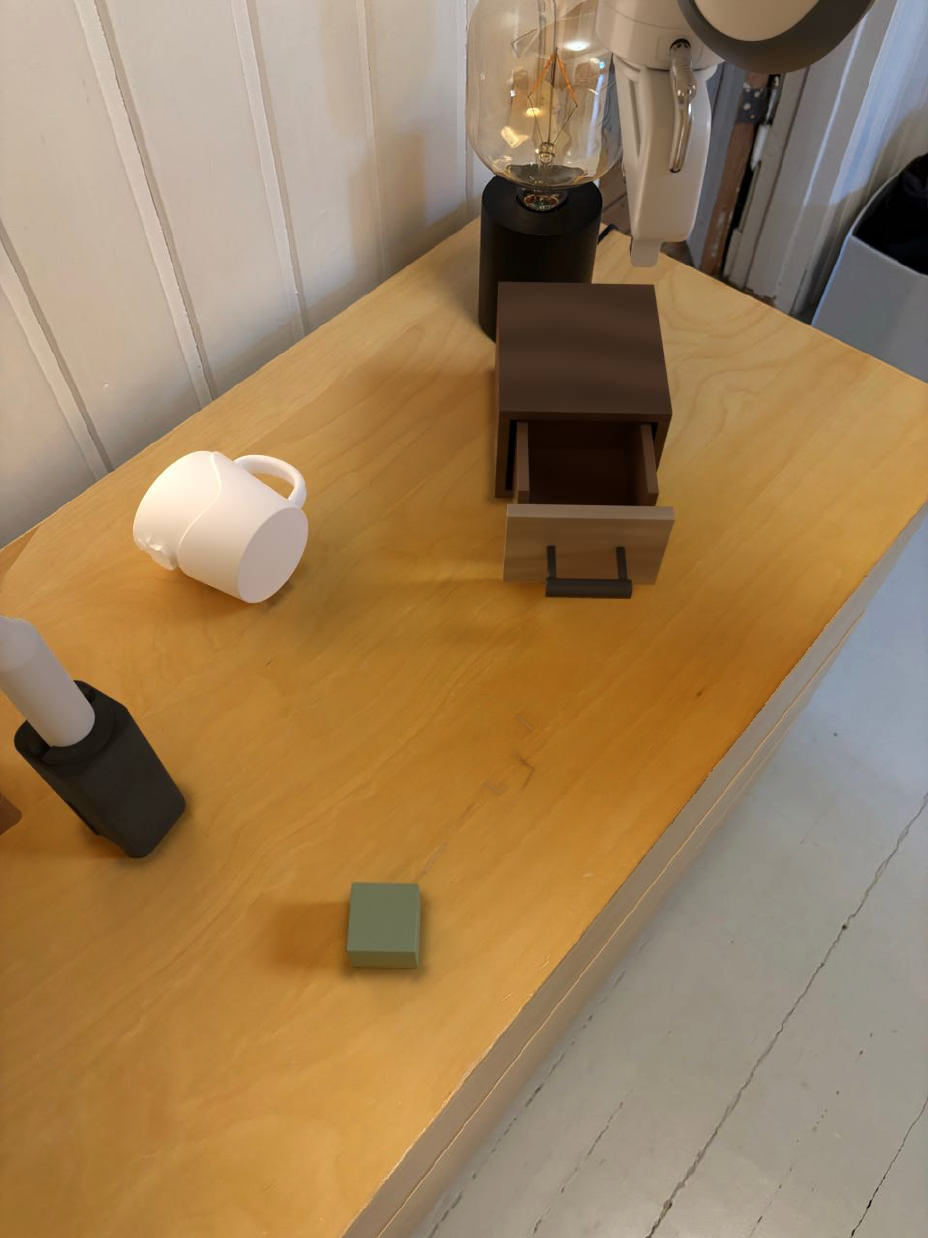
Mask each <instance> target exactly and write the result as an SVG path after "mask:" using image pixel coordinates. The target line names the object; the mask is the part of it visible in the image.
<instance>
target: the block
mask: <svg viewBox="0 0 928 1238" xmlns="http://www.w3.org/2000/svg"><path fill="white" fill-rule="evenodd" d="M419 884H420V883H414V882H413V883H410V882H363V881H362V882H360V881H358V882H357V881H353V882H351V888H350V898H349V899H350V900H349V910H348V911H349V912H348V922H347V936H346V948H345V950H346V953H347V956H348V958H349V961H350V964H351V966H352V967H353V968H378V969H379V968H386V969H418V968H419V961H420V939H421V938H420V937H421V936H420V935H421V916H422V915H421V914H422V900H421V891H420V885H419Z"/></svg>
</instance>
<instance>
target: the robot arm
mask: <svg viewBox="0 0 928 1238" xmlns="http://www.w3.org/2000/svg"><path fill="white" fill-rule="evenodd" d="M878 1H879V0H598V3H597V11H596V20H595V33H596V36H597V38H598V40H599V42H600V43H601V44H602V45H603V47H604V48H606V49H607V50H608V51H609V52H610V53H612V63H613V65H614V75H615V85H616V93H617V104H618V113H619V123H620V131H621V132H620V133H621V142H622V144H621V145H622V153H623V155H622V161H621V177H622V181H623V183H624V184H626V193H627V195H626V196H627V203H628V205H627V206H628V213H629V214H628V215H629V222H630V232H631V233H630V234H631V237H630V244H629V259H630V260H629V261H630V264H631V266H633V267H635V268H652V267H655V266H656V265H657V263H658V262H659V256H660V252H661V247H662V244H663V243H679V242H683V241H685V240H687V239H688V238H689V236H690V235H691V234H692V232H693V230H694V228H695V223H696V219H697V215H698V209H699V204H700V199H701V194H702V189H703V183H704V177H705V171H706V166H707V160H708V155H709V148H710V142H711V141H710V140H711V132H712V108H711V102H710V98H709V97H710V96H709V91H708V87H707V81H708V80H709V79H711V78H712V77H713V76H714V74H716V71H717V69H718V65H720V64H722V63H724V62H726V63H729V64H730V65H731V66H734V67H736V68H738V69H741V70H744V71H747V72H750V73H756V74H761V75H762V74H763V75H783V74H788V73H794V72H796V71H801V70H803V69H806V68H807V67H809V66H812V65H814V64H816V63H817V62H819V61H821V60H822V59H823V58H825V57H826V56H828V55H829V54H831V52H833V51H834V50H835V49H836V48H837V47H838V46H840V44H841V43H842V42H843V41H844V40H845V39H846V38H847V37H848V35H850V33H851V32H852V31H853V30H854V29H855V28H856V27H857V26H858V24H859V23H860V22H861V21H863V19H864V18H865V16H866V15H867V14H868V13H869V11H870V10H871V9H872V7H873V6H874V5H875V4H876V3H877V2H878Z"/></svg>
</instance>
